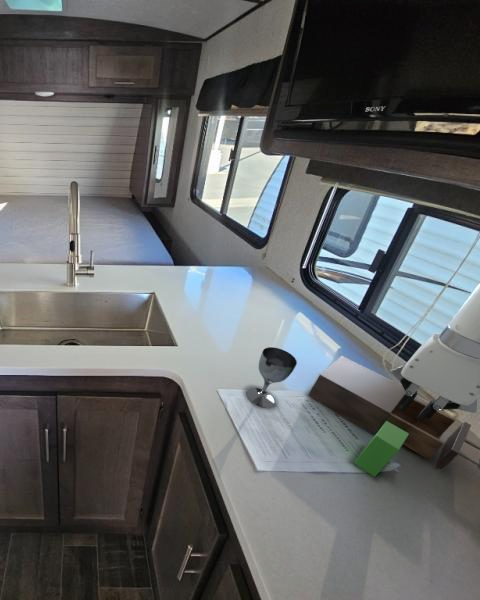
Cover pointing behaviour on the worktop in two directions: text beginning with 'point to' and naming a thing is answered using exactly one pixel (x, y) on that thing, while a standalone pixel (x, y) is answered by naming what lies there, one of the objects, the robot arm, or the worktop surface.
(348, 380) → the cabinet
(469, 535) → the worktop surface
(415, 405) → the drawer
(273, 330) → the worktop surface
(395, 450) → the green rectangular prism
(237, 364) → the worktop surface
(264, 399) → the wine glass
